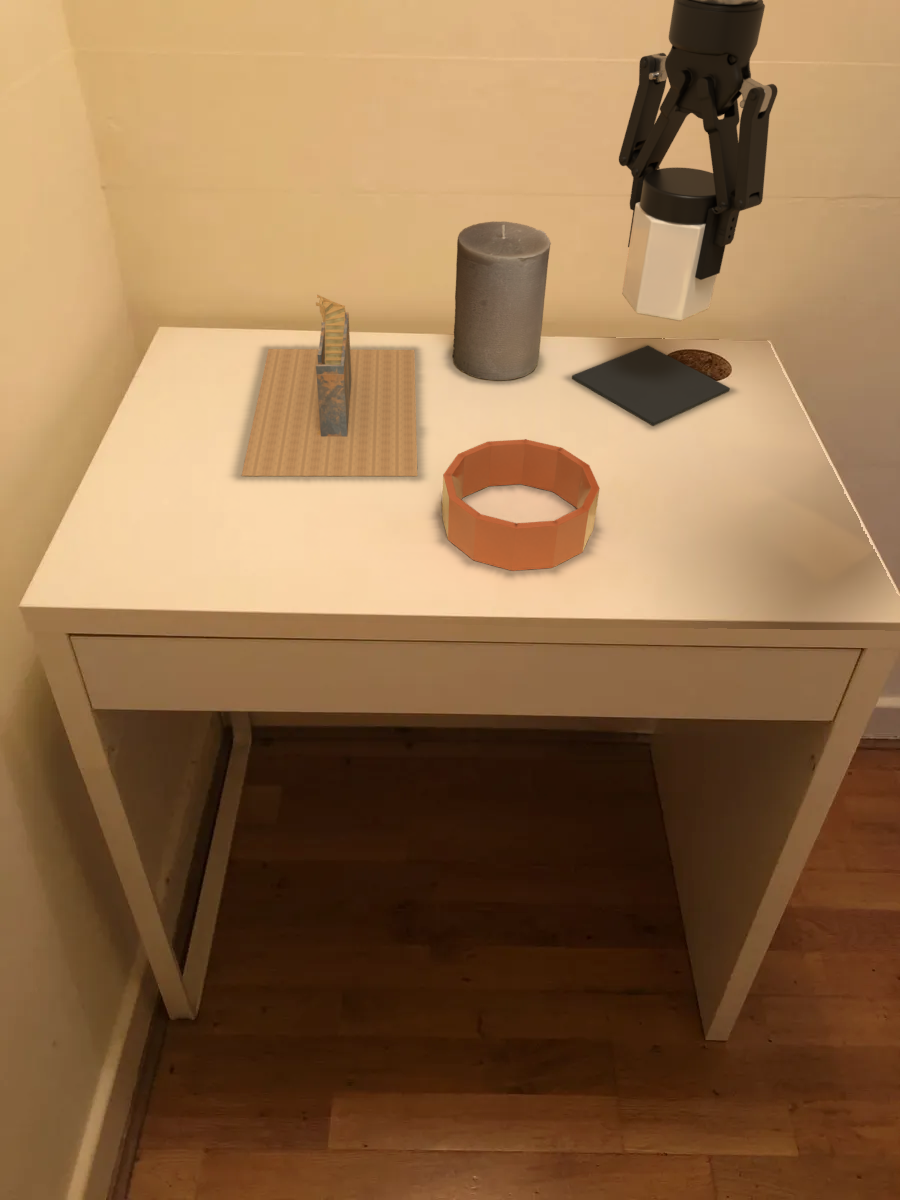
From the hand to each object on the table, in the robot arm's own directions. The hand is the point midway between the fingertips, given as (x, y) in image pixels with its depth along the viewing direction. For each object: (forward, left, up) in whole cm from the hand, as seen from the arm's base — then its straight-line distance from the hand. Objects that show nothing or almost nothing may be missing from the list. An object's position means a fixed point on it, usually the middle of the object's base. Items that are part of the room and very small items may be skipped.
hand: (672, 259), depth 97 cm
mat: (0, 0, -14) cm, 14 cm away
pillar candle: (+14, +10, -14) cm, 22 cm away
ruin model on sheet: (+16, +30, -14) cm, 37 cm away
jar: (0, 0, -5) cm, 5 cm away
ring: (-10, +28, -14) cm, 33 cm away
